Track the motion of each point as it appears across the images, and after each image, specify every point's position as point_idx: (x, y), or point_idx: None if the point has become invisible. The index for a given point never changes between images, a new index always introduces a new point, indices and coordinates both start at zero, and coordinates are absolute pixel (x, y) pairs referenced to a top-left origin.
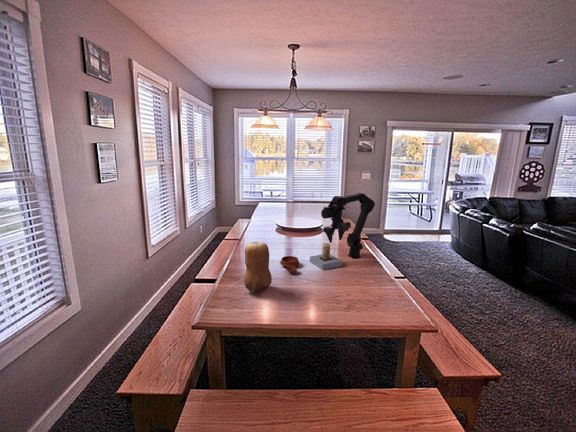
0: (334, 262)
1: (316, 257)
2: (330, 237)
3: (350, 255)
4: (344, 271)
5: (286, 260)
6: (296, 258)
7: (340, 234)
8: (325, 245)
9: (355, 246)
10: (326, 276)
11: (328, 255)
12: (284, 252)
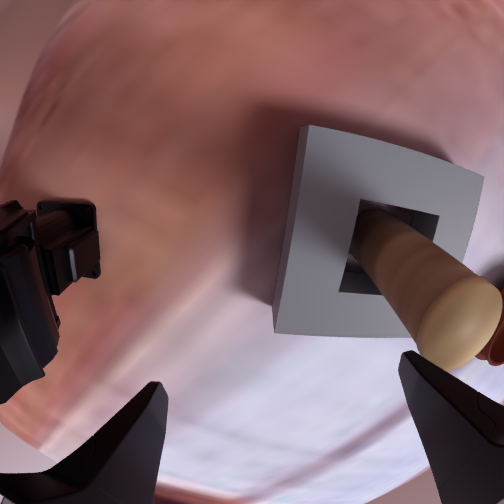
0: (394, 144)
1: None
2: (480, 412)
3: (95, 244)
4: (350, 51)
5: (492, 348)
6: (494, 333)
7: (135, 468)
8: (494, 314)
9: (22, 240)
10: (484, 92)
11: (417, 236)
12: (391, 432)
